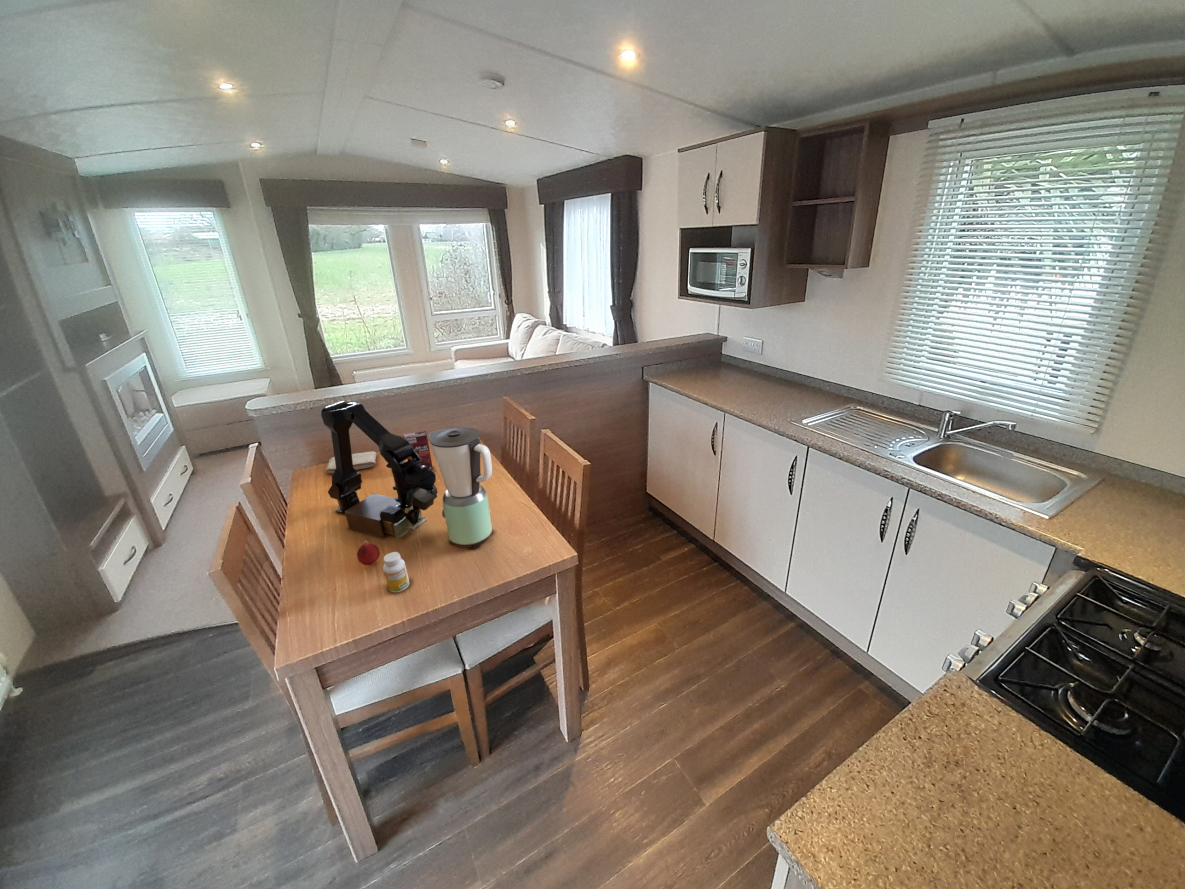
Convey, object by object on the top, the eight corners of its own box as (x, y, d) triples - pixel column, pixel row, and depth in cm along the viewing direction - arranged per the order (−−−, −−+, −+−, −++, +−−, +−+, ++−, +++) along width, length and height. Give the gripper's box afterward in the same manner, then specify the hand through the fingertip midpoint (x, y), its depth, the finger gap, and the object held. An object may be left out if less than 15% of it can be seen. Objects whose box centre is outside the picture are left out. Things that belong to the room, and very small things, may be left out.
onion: (374, 572, 132) (367, 549, 129) (355, 570, 133) (348, 547, 130) (386, 559, 137) (380, 536, 134) (368, 557, 138) (362, 534, 135)
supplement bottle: (391, 579, 129) (384, 550, 125) (412, 578, 130) (405, 549, 125) (385, 593, 124) (377, 564, 120) (406, 592, 125) (399, 562, 121)
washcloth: (330, 462, 195) (328, 456, 194) (377, 455, 201) (375, 448, 199) (326, 475, 185) (324, 468, 184) (376, 467, 191) (374, 460, 189)
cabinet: (410, 517, 157) (406, 501, 154) (383, 538, 147) (379, 520, 144) (377, 509, 162) (373, 493, 159) (349, 528, 152) (344, 511, 149)
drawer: (433, 522, 152) (430, 510, 150) (409, 541, 143) (406, 528, 141) (390, 511, 159) (387, 499, 157) (365, 529, 150) (362, 517, 148)
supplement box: (410, 476, 182) (402, 439, 176) (409, 471, 186) (401, 434, 180) (434, 471, 185) (426, 434, 179) (432, 466, 189) (425, 430, 183)
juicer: (435, 544, 143) (413, 438, 128) (461, 520, 154) (444, 420, 139) (488, 557, 137) (472, 448, 122) (512, 531, 148) (500, 428, 133)
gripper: (403, 502, 130) (414, 548, 137) (447, 471, 146) (455, 514, 153) (373, 495, 135) (385, 540, 141) (418, 466, 150) (427, 508, 157)
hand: (415, 525), depth 148 cm, fingers closed, pressing on drawer
